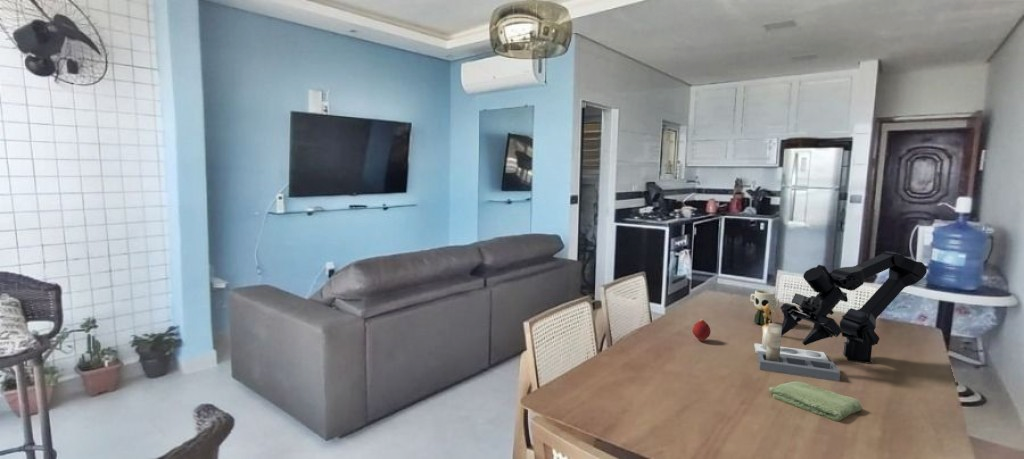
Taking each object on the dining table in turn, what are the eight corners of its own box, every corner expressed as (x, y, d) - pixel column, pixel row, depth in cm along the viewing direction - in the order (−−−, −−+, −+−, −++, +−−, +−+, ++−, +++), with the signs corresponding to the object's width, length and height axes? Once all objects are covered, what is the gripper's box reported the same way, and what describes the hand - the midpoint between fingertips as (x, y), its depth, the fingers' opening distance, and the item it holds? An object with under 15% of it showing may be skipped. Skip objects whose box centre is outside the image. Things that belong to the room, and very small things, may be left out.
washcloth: (792, 386, 138) (793, 375, 137) (863, 412, 123) (864, 400, 123) (765, 396, 131) (766, 385, 130) (837, 426, 116) (839, 413, 116)
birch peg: (780, 366, 151) (783, 325, 149) (776, 369, 148) (779, 327, 147) (767, 363, 153) (770, 322, 152) (763, 366, 151) (766, 324, 149)
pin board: (832, 369, 149) (833, 361, 149) (839, 381, 140) (840, 372, 140) (757, 359, 156) (758, 351, 156) (759, 369, 148) (760, 361, 148)
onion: (707, 338, 176) (708, 316, 175) (711, 344, 170) (713, 321, 169) (690, 337, 176) (691, 316, 175) (694, 343, 170) (695, 320, 169)
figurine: (781, 336, 179) (784, 304, 178) (775, 340, 175) (778, 307, 174) (757, 330, 185) (759, 299, 184) (751, 334, 181) (753, 302, 180)
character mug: (744, 322, 196) (746, 290, 195) (753, 319, 201) (755, 288, 199) (772, 329, 188) (775, 295, 186) (781, 325, 192) (783, 293, 191)
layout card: (823, 355, 161) (825, 331, 160) (828, 363, 154) (830, 338, 153) (754, 346, 169) (756, 323, 168) (756, 353, 162) (757, 329, 161)
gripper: (787, 278, 160) (755, 313, 158) (836, 292, 142) (801, 332, 140) (805, 300, 162) (774, 335, 161) (856, 317, 144) (822, 356, 143)
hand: (791, 339), depth 151 cm, fingers open, 9 cm apart
